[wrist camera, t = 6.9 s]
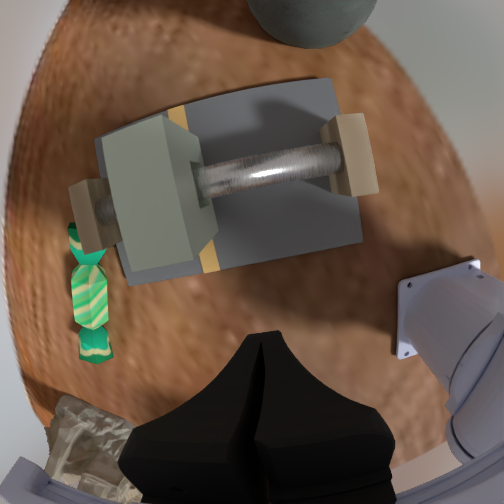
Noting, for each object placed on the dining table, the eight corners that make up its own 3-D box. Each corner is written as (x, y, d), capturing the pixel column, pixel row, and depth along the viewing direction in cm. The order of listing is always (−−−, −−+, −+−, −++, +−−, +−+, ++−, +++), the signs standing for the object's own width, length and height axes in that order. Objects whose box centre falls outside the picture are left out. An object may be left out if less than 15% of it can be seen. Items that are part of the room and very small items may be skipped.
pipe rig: (327, 82, 17) (348, 51, 12) (358, 239, 20) (389, 259, 15) (100, 140, 19) (57, 132, 13) (134, 282, 22) (100, 310, 16)
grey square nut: (198, 137, 17) (161, 114, 10) (218, 230, 18) (193, 259, 11) (155, 150, 17) (101, 137, 10) (175, 240, 18) (132, 272, 12)
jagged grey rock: (56, 381, 26) (0, 463, 11) (175, 436, 27) (148, 542, 13) (67, 434, 30) (34, 498, 16) (158, 475, 32) (140, 548, 18)
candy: (70, 219, 20) (66, 231, 16) (108, 220, 22) (110, 232, 18) (78, 340, 23) (79, 366, 20) (109, 339, 25) (115, 364, 21)
